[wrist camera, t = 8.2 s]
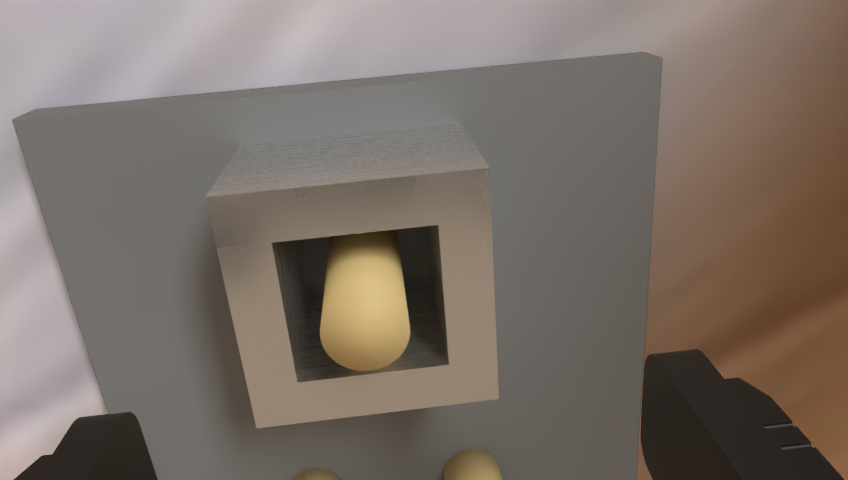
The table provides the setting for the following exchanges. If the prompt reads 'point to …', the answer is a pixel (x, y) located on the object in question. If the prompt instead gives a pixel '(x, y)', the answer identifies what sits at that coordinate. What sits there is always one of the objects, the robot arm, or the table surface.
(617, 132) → the plate
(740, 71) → the table surface
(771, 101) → the table surface
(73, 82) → the table surface
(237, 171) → the frame
